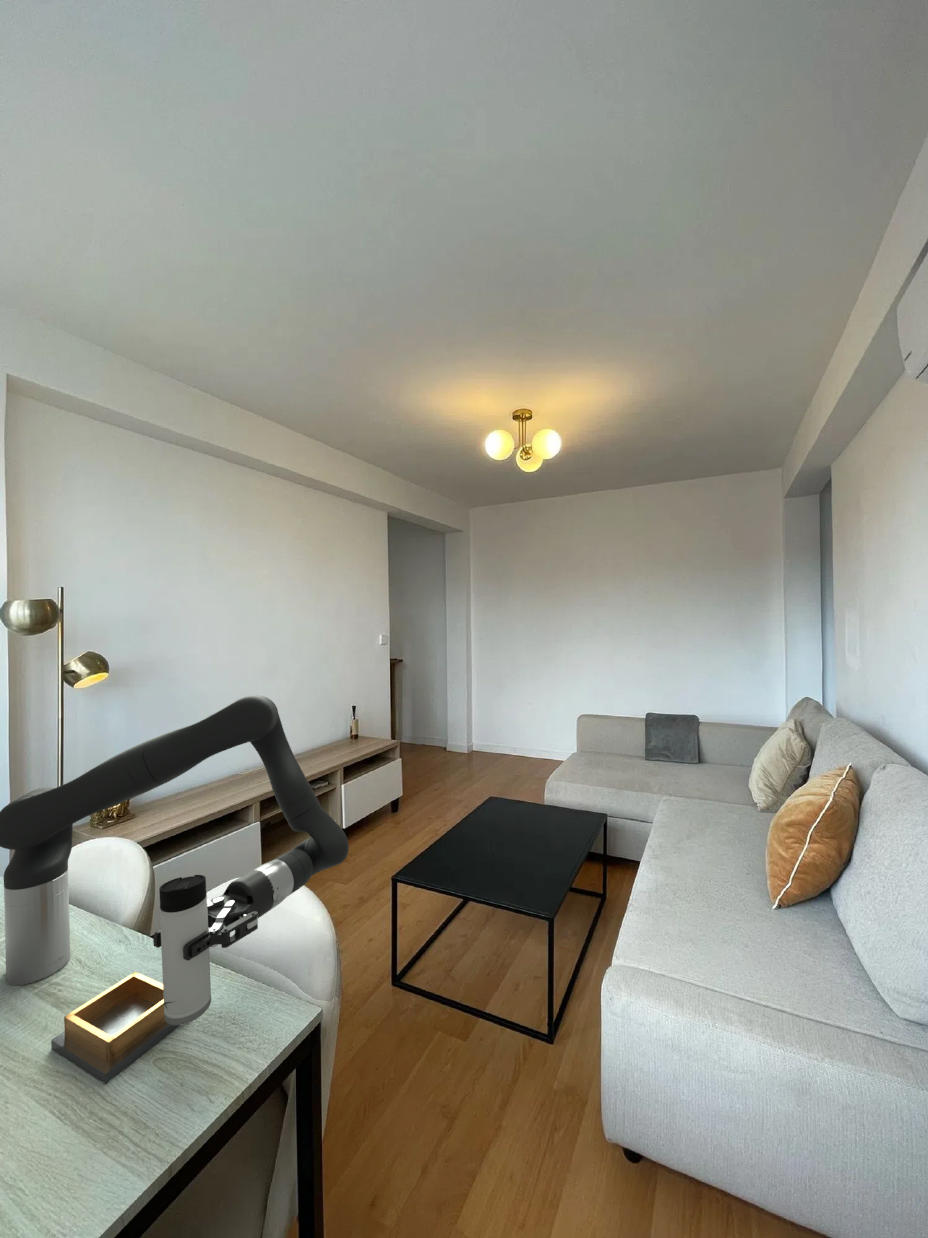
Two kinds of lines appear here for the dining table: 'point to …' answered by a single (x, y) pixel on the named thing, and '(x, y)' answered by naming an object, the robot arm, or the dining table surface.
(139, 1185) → the dining table surface
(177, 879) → the travel mug
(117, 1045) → the wooden tray
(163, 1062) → the dining table surface
